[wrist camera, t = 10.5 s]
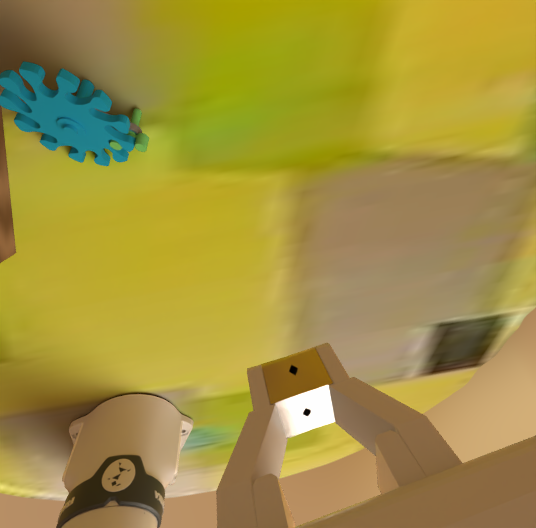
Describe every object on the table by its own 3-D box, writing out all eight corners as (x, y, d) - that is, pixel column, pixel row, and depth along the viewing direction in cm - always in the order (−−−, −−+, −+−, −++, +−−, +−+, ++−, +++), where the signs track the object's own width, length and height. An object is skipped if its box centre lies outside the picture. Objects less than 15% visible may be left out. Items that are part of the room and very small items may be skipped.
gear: (11, 146, 26) (-31, 46, 18) (32, 100, 28) (4, -8, 20) (138, 185, 31) (152, 121, 23) (148, 144, 33) (164, 71, 25)
